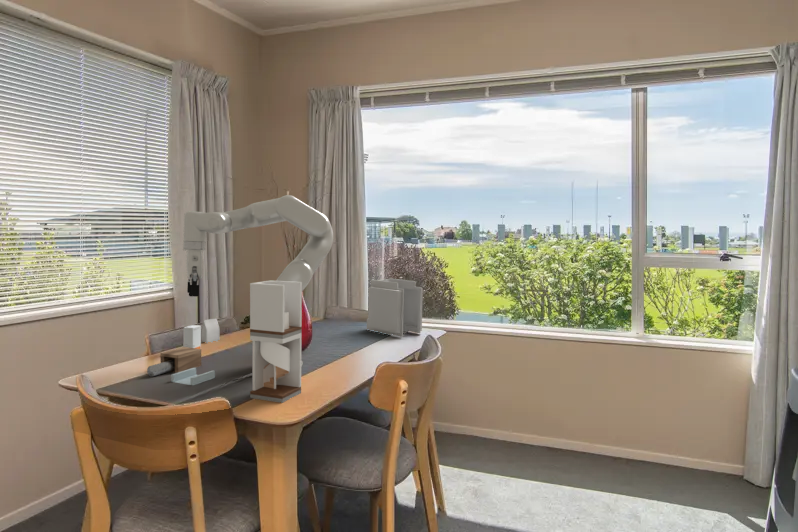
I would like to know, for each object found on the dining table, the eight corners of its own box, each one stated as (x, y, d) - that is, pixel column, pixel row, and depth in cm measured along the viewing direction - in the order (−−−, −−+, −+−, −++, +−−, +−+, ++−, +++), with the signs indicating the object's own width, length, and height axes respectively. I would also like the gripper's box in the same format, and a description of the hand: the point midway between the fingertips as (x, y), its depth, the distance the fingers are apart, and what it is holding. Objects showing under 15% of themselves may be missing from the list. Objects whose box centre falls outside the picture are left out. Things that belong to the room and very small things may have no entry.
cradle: (215, 381, 184) (215, 370, 184) (193, 389, 175) (192, 378, 175) (194, 378, 188) (194, 367, 188) (171, 386, 179) (171, 374, 178)
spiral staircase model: (250, 397, 168) (250, 283, 166) (270, 388, 178) (270, 280, 176) (282, 402, 164) (282, 285, 162) (301, 393, 174) (301, 282, 172)
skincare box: (192, 358, 216) (192, 328, 215) (183, 357, 217) (182, 327, 216) (201, 355, 222) (201, 325, 221) (191, 354, 223) (191, 324, 222)
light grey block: (219, 340, 249) (219, 318, 248) (206, 343, 243) (206, 320, 243) (214, 339, 251) (214, 317, 250) (201, 342, 245) (201, 319, 245)
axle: (185, 365, 200) (184, 355, 200) (193, 365, 199) (192, 355, 199) (147, 376, 185) (146, 366, 185) (155, 376, 183) (154, 365, 183)
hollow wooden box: (201, 369, 199) (201, 349, 199) (178, 377, 189) (178, 355, 189) (184, 367, 203) (184, 346, 202) (160, 374, 192) (160, 353, 192)
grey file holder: (386, 326, 291) (387, 277, 289) (423, 334, 272) (424, 281, 270) (361, 330, 279) (362, 279, 277) (398, 339, 260) (399, 283, 258)
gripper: (207, 248, 190) (205, 297, 191) (203, 245, 206) (202, 291, 207) (184, 247, 187) (182, 297, 188) (182, 244, 203) (180, 291, 204)
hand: (192, 294), depth 197 cm, fingers open, 9 cm apart
